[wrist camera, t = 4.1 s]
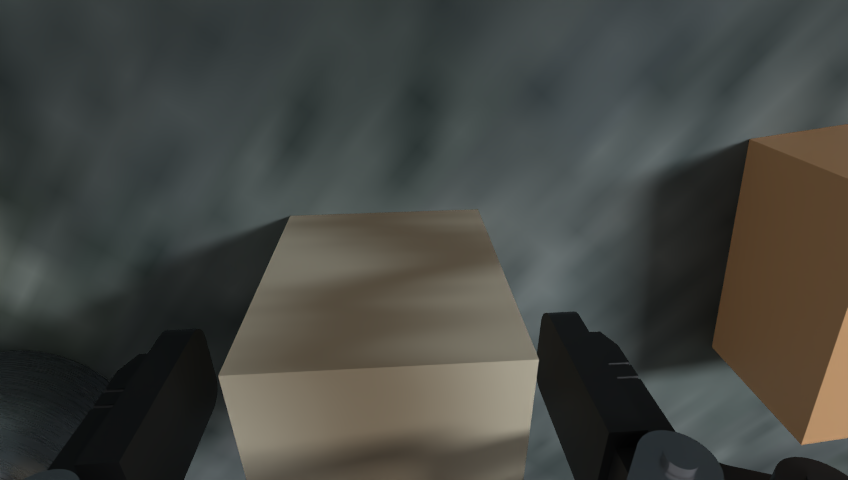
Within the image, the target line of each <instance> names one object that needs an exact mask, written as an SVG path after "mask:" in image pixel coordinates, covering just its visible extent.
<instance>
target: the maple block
mask: <svg viewBox="0 0 848 480" xmlns="http://www.w3.org/2000/svg"><path fill="white" fill-rule="evenodd" d="M538 363H539V358H538V356H537V353H536V351H535V349H534V346H533V344H532V341H531V339H530V336H529V334H528V331H527V329H526V326H525V324H524V322H523V319H522V317H521V314H520V312H519V309H518V307H517V304H516V302H515V299H514V297H513V295H512V292H511V290H510V287H509V285H508V282H507V280H506V277H505V275H504V272H503V270H502V268H501V265H500V263H499V260H498V258H497V255H496V253H495V250H494V248H493V245H492V243H491V241H490V238H489V236H488V233H487V231H486V228H485V226H484V223H483V221H482V218H481V216H480V214H479V211H478V209H475V210H446V211H417V212H388V213H359V214H330V215H301V216H290V217H289V220H288V222H287V224H286V226H285V229H284V231H283V233H282V235H281V237H280V240H279V242H278V244H277V246H276V249H275V251H274V253H273V255H272V257H271V260H270V262H269V264H268V266H267V268H266V271H265V273H264V275H263V277H262V280H261V282H260V284H259V286H258V288H257V291H256V293H255V295H254V297H253V300H252V302H251V304H250V306H249V308H248V311H247V313H246V315H245V317H244V320H243V322H242V324H241V326H240V328H239V331H238V333H237V335H236V337H235V340H234V342H233V344H232V346H231V348H230V351H229V353H228V355H227V357H226V359H225V362H224V364H223V366H222V368H221V371H220V373H219V375H218V377H219V381H220V385H221V388H222V392H223V396H224V399H225V403H226V407H227V410H228V414H229V418H230V421H231V425H232V428H233V432H234V436H235V439H236V443H237V447H238V450H239V454H240V458H241V461H242V465H243V469H244V472H245V476H246V480H523V478H524V471H525V463H526V455H527V448H528V440H529V432H530V424H531V417H532V409H533V401H534V394H535V386H536V378H537V371H538Z"/></svg>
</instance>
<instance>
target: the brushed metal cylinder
mask: <svg viewBox="0 0 848 480" xmlns="http://www.w3.org/2000/svg"><path fill="white" fill-rule="evenodd" d="M108 384H109V382H108V381H107V380H106V379H105V378H103V377H102V376H101V375H99V374H98V373H96V372H95V371H93V370H91V369H90V368H88V367H86V366H84V365H82V364H80V363H77V362H75V361H72V360H70V359H67V358H64V357H61V356H57V355H53V354H49V353H43V352H36V351H9V352H2V353H0V480H23V479H24V478H27V477H29V476H31V475H33V474H36V473H39V472H42V471H47V469H48V468H49V467H50V465H51V464H52V462H53V461H54V460H55V458H56V457H57V455H58V454H59V453H60V451H61V450H62V448H63V447H64V446H65V444H66V443H67V441H68V440H69V439H70V437H71V436H72V434H73V433H74V432H75V430H76V429H77V427H78V426H79V425H80V423H81V422H82V421H83V419H84V418H85V416H86V415H87V414H88V412H89V411H90V409H93V408H94V406H93V405H94V404H95V402H96V401H97V400H98V398H99V397H100V395H101V394H102V393H105V388H106V387H107V386H108Z"/></svg>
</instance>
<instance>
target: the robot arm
mask: <svg viewBox="0 0 848 480" xmlns="http://www.w3.org/2000/svg"><path fill="white" fill-rule="evenodd" d="M537 356H538V358H539V363H538V371H537V382H538V386H539V389H540V392H541V395H542V397H543V400H544V402H545V405H546V407H547V410H548V412H549V415H550V418H551V420H552V423H553V425H554V428H555V430H556V433H557V435H558V438H559V441H560V443H561V446H562V448H563V451H564V453H565V456H566V458H567V461H568V464H569V466H570V469H571V471H572V474H573V476H574V479H575V480H848V476H847V475H845V474H844V473H842V472H840V471H839V470H837V469H835V468H833V467H831V466H829V465H827V464H824V463H822V462H819V461H816V460H813V459H808V458H803V457H790V458H786V459H783V460H782V461H780V462H779V463H778V464H777V466H776V468H775V470H774V472H773V474H772V475H771V474H766V473H761V472H757V471H752V470H747V469H742V468H738V467H733V466H729V465H725V464H721V463H719V462H718V461H717V459H716V458H715V457H714V455H713V454H712V453H711V452H710V451H709V450H708V449H707V448H706V447H704V446H703V445H702V444H700V443H699V442H697V441H696V440H694V439H692V438H690V437H688V436H686V435H683V434H680V433H678V432H675V430H674V429H673V427H672V426H671V424H670V423H669V421H668V420H667V418H666V417H665V415H664V414H663V412H662V411H661V409H660V408H659V406H658V405H657V403H656V402H655V400H654V399H653V397H652V396H651V394H650V393H649V391H648V390H647V388H646V387H645V385H644V384H643V382H642V381H641V379H638V375H637V373H636V372H635V370H634V369H633V367H632V366H631V365H629V361H628V360H627V358H626V357H625V355H624V354H623V352H622V351H621V349H620V348H619V346H618V345H617V344H615V343H614V342H613V341H612V340H610V339H609V338H608V337H606V336H605V335H604V334H602V333H601V332H589V331H588V329H587V327H586V326H585V324H584V322H583V321H582V319H581V317H580V316H579V314H578V313H577V312H557V313H544V314H543V316H542V320H541V327H540V335H539V343H538V350H537ZM216 398H217V379H216V375H215V371H214V367H213V364H212V360H211V356H210V353H209V349H208V345H207V341H206V338H205V335H204V333H203V331H202V330H201V329H186V330H167V331H164V332H163V333H162V334H161V335H160V336H159V338H158V339H157V341H156V342H155V344H154V345H153V347H152V348H151V350H150V351H149V353H148V354H139V355H138V356H136V357H135V358H134V359H132V360H131V361H130V362H129V363H127V364H126V365H125V366H124V367H122V368H121V369H120V370H118V372H117V373H116V374H115V376H114V377H113V379H112V380H111V381H110V383H109V384H108V386H107V387H106V388H105V393H102V394H101V395H100V397H99V398H98V400H97V401H96V402H95V404H94V405H93V406H94V408H93V409H90V411H89V412H88V414H87V415H86V416H85V418H84V419H83V421H82V422H81V423H80V425H79V426H78V427H77V429H76V430H75V432H74V433H73V434H72V436H71V437H70V439H69V440H68V441H67V443H66V444H65V446H64V447H63V448H62V450H61V451H60V453H59V454H58V455H57V457H56V458H55V460H54V461H53V462H52V464H51V465H50V467H49V468H48V469H47V471H42V472H39V473H36V474H33V475H31V476H29V477H27V478H24V479H23V480H184V478H185V476H186V473H187V471H188V469H189V466H190V464H191V461H192V459H193V457H194V454H195V452H196V449H197V447H198V445H199V442H200V440H201V437H202V435H203V433H204V430H205V428H206V426H207V423H208V421H209V418H210V416H211V414H212V411H213V409H214V406H215V403H216Z"/></svg>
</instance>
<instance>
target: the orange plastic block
mask: <svg viewBox="0 0 848 480" xmlns="http://www.w3.org/2000/svg"><path fill="white" fill-rule="evenodd" d="M712 348H713V349H714V350H715V351H716V352H717V353H718V354H719V355H720V356H721V357H722V359H723V360H724V361H725V362H726V363H727V364H728V365H729V366H730V367H731V368H732V369H733V371H734V372H735V373H736V374H737V375H738V376H739V377H740V378H741V379H742V380H743V382H744V383H745V384H746V385H747V386H748V387H749V388H750V389H751V390H752V391H753V392H754V394H755V395H756V396H757V397H758V398H759V399H760V400H761V401H762V402H763V403H764V404H765V406H766V407H767V408H768V409H769V410H770V411H771V412H772V413H773V414H774V415H775V417H776V418H777V419H778V420H779V421H780V422H781V423H782V424H783V425H784V426H785V427H786V429H787V430H788V431H789V432H790V433H791V434H792V435H793V436H794V437H795V438H796V439H797V441H798V442H799V443H800V444H801V445H803V444H810V443H817V442H823V441H830V440H837V439H843V438H848V124H845V125H839V126H832V127H825V128H819V129H812V130H806V131H799V132H793V133H786V134H780V135H773V136H767V137H760V138H754V139H749V145H748V150H747V156H746V161H745V167H744V172H743V178H742V184H741V189H740V195H739V200H738V206H737V211H736V217H735V222H734V228H733V233H732V239H731V244H730V250H729V255H728V261H727V266H726V272H725V277H724V283H723V288H722V294H721V299H720V305H719V310H718V316H717V321H716V327H715V332H714V338H713V343H712Z"/></svg>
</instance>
